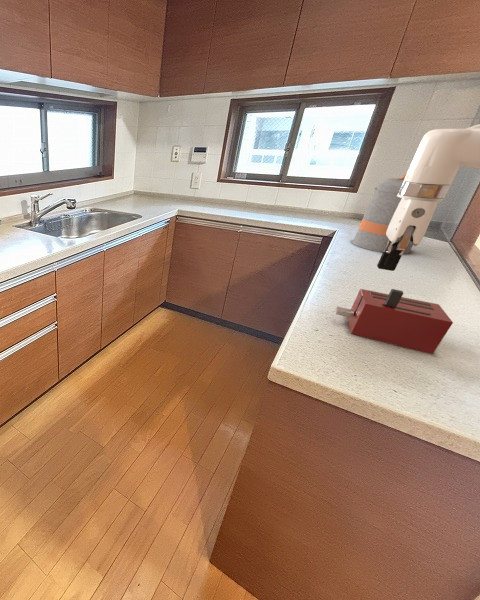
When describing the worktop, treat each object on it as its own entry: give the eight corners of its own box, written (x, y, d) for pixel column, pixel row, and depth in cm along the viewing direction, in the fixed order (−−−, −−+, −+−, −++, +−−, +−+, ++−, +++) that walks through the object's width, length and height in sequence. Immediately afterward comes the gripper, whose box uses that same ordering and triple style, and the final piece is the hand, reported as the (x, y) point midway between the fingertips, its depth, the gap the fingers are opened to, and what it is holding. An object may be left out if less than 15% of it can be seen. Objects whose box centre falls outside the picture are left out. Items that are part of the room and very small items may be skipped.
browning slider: (394, 305, 81) (402, 290, 79) (395, 307, 79) (403, 293, 78) (384, 303, 82) (391, 288, 80) (385, 305, 80) (392, 291, 79)
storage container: (368, 251, 150) (404, 171, 134) (342, 238, 170) (371, 166, 154) (423, 255, 147) (467, 173, 131) (390, 241, 166) (425, 169, 150)
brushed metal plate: (351, 313, 90) (353, 309, 89) (352, 318, 87) (354, 314, 87) (335, 310, 91) (337, 306, 91) (336, 314, 89) (337, 310, 89)
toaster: (420, 333, 86) (439, 303, 82) (432, 354, 78) (453, 322, 74) (346, 316, 94) (360, 288, 90) (350, 333, 86) (365, 303, 81)
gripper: (456, 198, 64) (412, 282, 73) (435, 189, 75) (399, 263, 84) (406, 194, 68) (369, 274, 76) (393, 186, 79) (362, 257, 87)
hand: (385, 268), depth 80 cm, fingers closed
